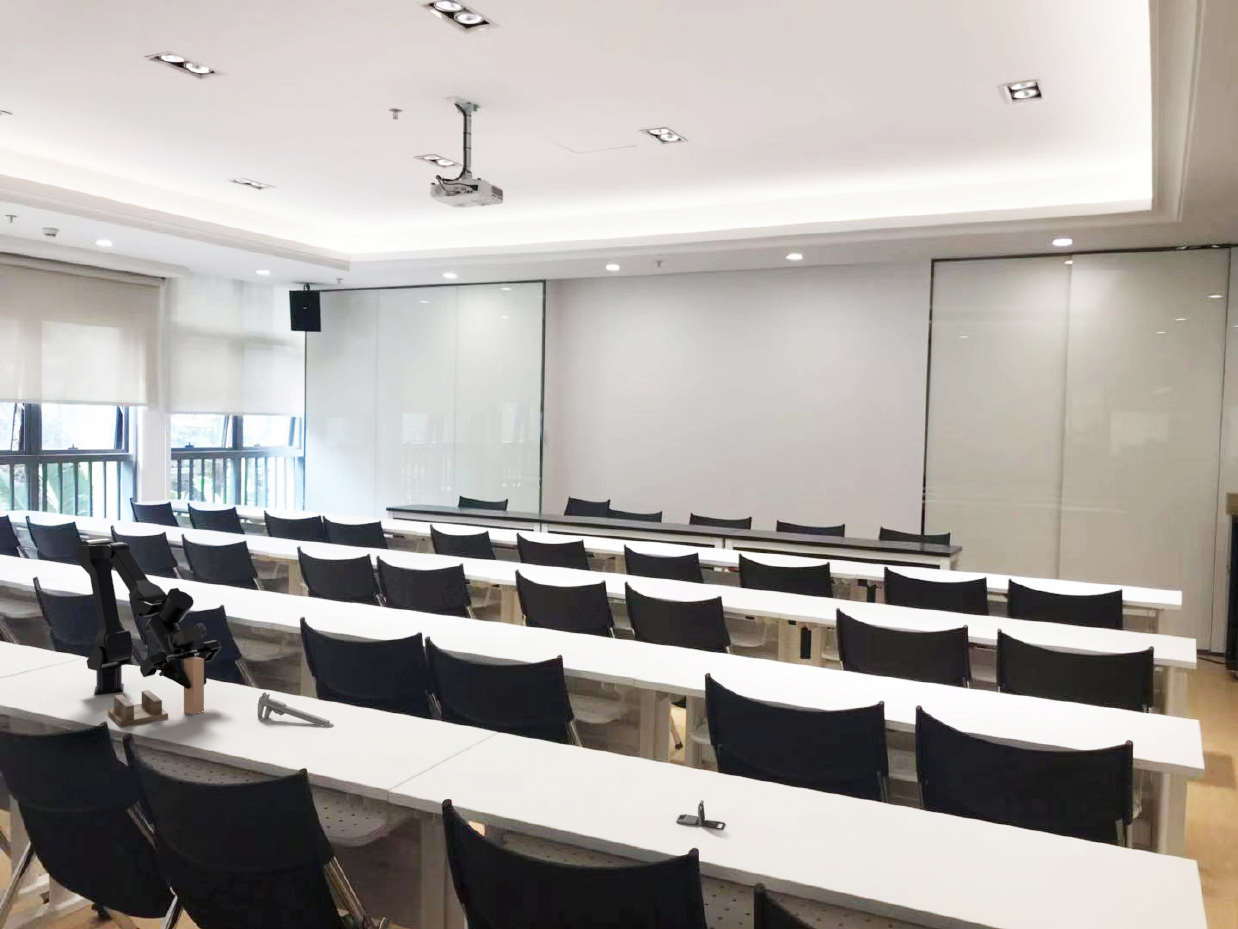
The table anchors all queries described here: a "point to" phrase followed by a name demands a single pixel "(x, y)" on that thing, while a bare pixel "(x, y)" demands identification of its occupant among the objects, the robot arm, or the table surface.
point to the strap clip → (699, 819)
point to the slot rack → (137, 710)
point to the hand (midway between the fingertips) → (197, 686)
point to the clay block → (194, 685)
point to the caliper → (287, 711)
